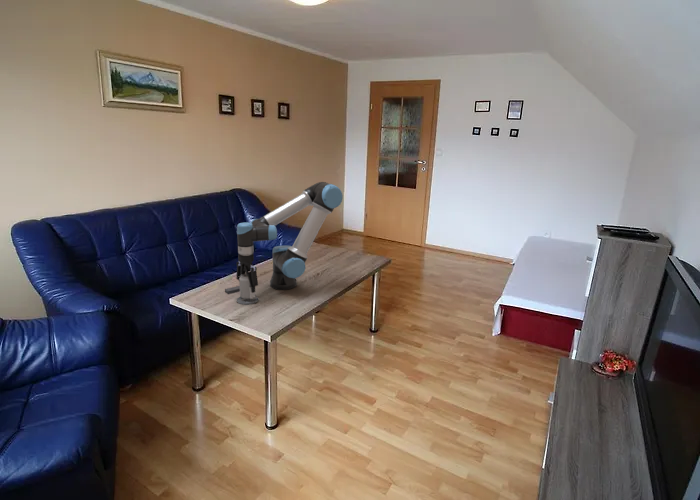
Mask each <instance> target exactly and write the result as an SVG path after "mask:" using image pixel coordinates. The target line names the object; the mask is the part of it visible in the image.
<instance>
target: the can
mask: <svg viewBox="0 0 700 500" xmlns="http://www.w3.org/2000/svg"><path fill="white" fill-rule="evenodd" d="M244 275H245V276H244ZM238 282H239V284H238V285H239V286H240V291H239V297H240V296H241V297H242V298H243V299H250V289H249V286H250V282H249V279H248V275H247V274H246V273H245V274H242V275H241V277H240V278H239V280H238Z"/></svg>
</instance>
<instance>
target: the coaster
mask: <svg viewBox="0 0 700 500" xmlns="http://www.w3.org/2000/svg"><path fill="white" fill-rule="evenodd" d="M258 302H259V296H256V295H255V297H254V298H251V299H243V298H242V297H241V296H240V295H239V296H238V297H237V298H236V303H237V304H240V305H243V306H244V305H245V306H246V305H253V304H256V303H258Z"/></svg>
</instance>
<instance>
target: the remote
mask: <svg viewBox="0 0 700 500" xmlns="http://www.w3.org/2000/svg"><path fill="white" fill-rule="evenodd" d="M224 292H225V294H227V295H230V294H235V293H238V292H239V293H240V285H238V286H233V287H227V288H225V289H224Z"/></svg>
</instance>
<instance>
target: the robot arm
mask: <svg viewBox="0 0 700 500" xmlns="http://www.w3.org/2000/svg"><path fill="white" fill-rule="evenodd" d="M343 196H344V195H343V192H342V190H341V188H339V186H336V185H335V184H332V183H328V182H326V181H319V182H316V183H314V184H312V185H310V186H309V187H307V188H305V189H303V190H302V192H301V194H299V195H297V196H295V197H294V198H292V199H290V200H289V201H287V202H285V203H283V204H281V205H280V206H279V207H277V208H275V209H274V210H271V211H270V212H268V213H267V214H265V215H263V216H261V217H259V218H254V219H252V220H251V221H250V222H247V221H246V222H240V223H238V224H237V226H236V235H237V237H236V238H237V253H238V255H237V256H238V257H237V258H238V261H236V280H237V281H239V278H240V277H241V275H242V274H245V273H246V274H247V275H248V279H249V282H250V286H249V289H250V299H251V298H254V297H255V296H256V287H257V286H259V283H258V281H259V280H258V274H257V269H258V268H257V266H254V265H253V262H254V259H255V257H254V256H255V255H254V249H255V248H254V243H255V242H265V241H266V242H267V241H273V240H276V239H277V237H278V230H277V227H276V226H277V225H278V224H280V223H282V222H284V221H285V220H287V219H289V218H290V217H292V216H294V215H296V214H297V213H298V212H299V213H300V212H301V211H302V210H304V209H306V208H307V207H309V206H311V207H312V206H313V207H312V209H311V210H310V213H309V214H308V216H307V217H306V220H305V222H304V223H303V226H302V227H301V229H300V231H299V233H298V235H297V237H296V239H295V240H294V243H293V244H292V246H291V245H278V246H274V247H273V248H272V253H271V254H272V274H271V278H270V281H269V286H270V287H271V288H272V289H275V290H279V291H282V290H283V291H285V290H291V289H294V288H295V287H297V285H298V281H297V279H298V278H299V277H301V276H302V275H303V274H304V273H305V270H306V262H307V259H308V255H307V254H308V252H309V250H310V248H311V246H312V244H313V243H314V241H315V239H316V237H317V236H318V234H319V231H320V229H321V227H322V226H323V223H324V222H325V220H326V218H327V216H328V215H330V214H332V213H333V211H334V209H336V208H338V207H340V205H341V203H342V202H343ZM244 276H245V275H244Z"/></svg>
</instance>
